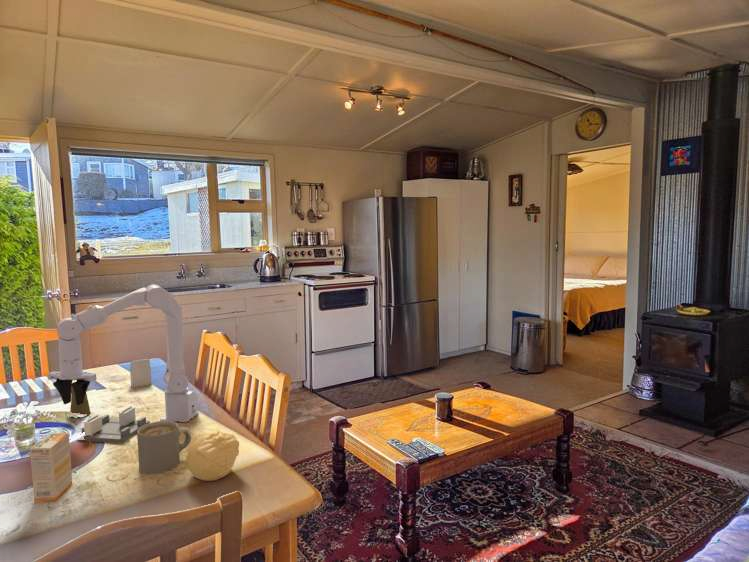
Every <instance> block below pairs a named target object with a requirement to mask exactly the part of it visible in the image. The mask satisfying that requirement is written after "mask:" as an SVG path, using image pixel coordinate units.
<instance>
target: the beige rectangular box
mask: <svg viewBox="0 0 749 562" xmlns="http://www.w3.org/2000/svg"><path fill="white" fill-rule="evenodd" d="M129 368H130V369H129V372H130V373H129V374H130V377H129V378H130V386H131V387H132V388H133V389H134V388H139V386H140V387H145V386H150V385H149V384H151V385H152V384H153V383H152V381H153V380H152V368H151V362H150V358H144V359H136V360H131V361H130V366H129ZM144 385H145V386H144Z"/></svg>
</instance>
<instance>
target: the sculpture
mask: <svg viewBox="0 0 749 562" xmlns="http://www.w3.org/2000/svg"><path fill="white" fill-rule="evenodd" d="M239 447H240V442H239V440H238V439H237V437H236V436H235V435H234V434H232V433H226V432H223V431H222V432H221V431H220V430H217V431H216V432H211V433H206V434H203V435H201V436H199V437H198V438H196V439H195V440H194V441H193V442H192V443H191V445H190V446H189V449H188V451H187V455H186V465H187V467H188V471H189V472H190V474H191V475H192V476H193V477H195V478H196V479H199V480H201V481H205V482H211V481H217V480H221V479H222V478H224V477H225V476H227V475H228V474H230V472H231V471H232V468H233V466H234V464H235V462H236V460H237V457H238V456H239V453H240V448H239Z"/></svg>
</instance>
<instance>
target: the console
mask: <svg viewBox="0 0 749 562" xmlns="http://www.w3.org/2000/svg"><path fill="white" fill-rule="evenodd" d="M149 423H151V422H150V420H147V416H141V418H139V419H136V420H134V421H133V422H131V423H129V424H128V425H126V426H120V425H119V418H111V417H110V414H105V415H103V416H102V428H103V429H101V430H99V431H98V432H96V433H94V434H93V435H86V436H84V439H85V440H89V441H88V442H95V443H110V444H111V443H112V444H123V443H124V442H126V441H127V440H129V439H130V438H132V437H134V436H135V435H136V434H137V430H138V429H139V428H140V427H142V426H143V425H146V424H149ZM80 429H81V430H80V431H81V434H82V433H83V432H85V431H84V426H83V427H82V428H80Z"/></svg>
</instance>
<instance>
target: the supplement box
mask: <svg viewBox="0 0 749 562" xmlns="http://www.w3.org/2000/svg"><path fill="white" fill-rule="evenodd" d="M29 456H30V457H29V458H30V468H31V478H32V489H33V498H34V502H35V503H37V502H36V501H42V502H41V503H43V502H44V501H49V502H56V501H57V500H58V499H59V498H60V497H61V496H62V494H63V493H64V492H66V490H67V489H68V488H69V487H70V486H71V485H72V484H73V474H72V473H73V472H72V460H71V448H70V434H69V432H59V433H58V432H57V433H56V432H52V433H48V434H47V435H46V436H44V437H42V438H41V439H40V440H39V441H37V442H36V443H35V444H34V445H32V446H31V447H30V448H29ZM44 503H45V502H44Z"/></svg>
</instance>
